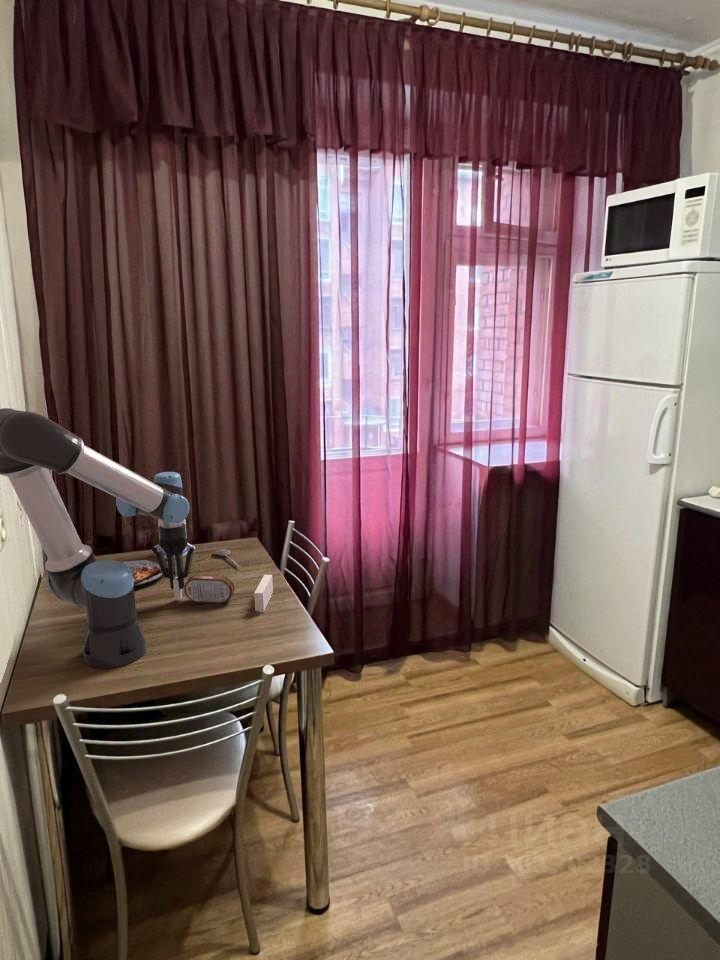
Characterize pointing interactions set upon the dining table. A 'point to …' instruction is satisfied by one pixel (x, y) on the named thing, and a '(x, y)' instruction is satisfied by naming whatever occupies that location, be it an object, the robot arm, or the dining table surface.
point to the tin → (209, 588)
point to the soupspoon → (225, 553)
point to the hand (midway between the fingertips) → (178, 598)
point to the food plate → (144, 571)
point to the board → (263, 593)
